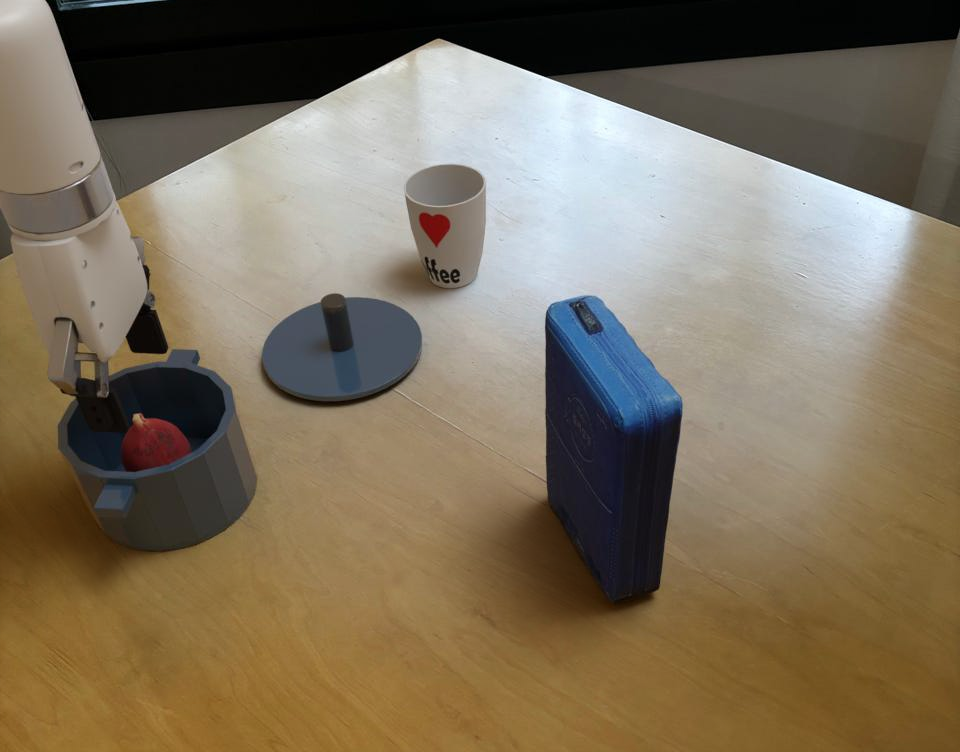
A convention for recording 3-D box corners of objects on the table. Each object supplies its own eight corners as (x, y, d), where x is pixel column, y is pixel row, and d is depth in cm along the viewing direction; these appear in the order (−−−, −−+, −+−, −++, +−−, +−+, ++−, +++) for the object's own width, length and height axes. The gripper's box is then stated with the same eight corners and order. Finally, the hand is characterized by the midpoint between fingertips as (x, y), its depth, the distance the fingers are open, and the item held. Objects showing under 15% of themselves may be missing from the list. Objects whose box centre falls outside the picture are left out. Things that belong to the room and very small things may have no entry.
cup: (400, 275, 114) (387, 186, 106) (457, 243, 117) (449, 154, 109) (449, 306, 110) (439, 216, 102) (507, 272, 113) (502, 182, 105)
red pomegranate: (217, 475, 95) (185, 405, 89) (173, 517, 93) (138, 448, 86) (171, 456, 98) (137, 386, 92) (127, 497, 95) (89, 428, 89)
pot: (57, 570, 91) (16, 497, 84) (135, 414, 103) (105, 340, 96) (222, 579, 89) (194, 506, 82) (282, 419, 101) (261, 344, 94)
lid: (246, 403, 103) (229, 350, 98) (286, 305, 112) (273, 251, 107) (408, 409, 100) (399, 354, 96) (434, 308, 110) (428, 254, 105)
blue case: (536, 499, 92) (528, 297, 76) (593, 481, 93) (597, 277, 77) (608, 618, 83) (617, 418, 68) (670, 596, 84) (692, 394, 69)
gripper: (50, 126, 79) (122, 322, 93) (-51, 262, 69) (48, 460, 82) (147, 128, 78) (206, 325, 92) (59, 266, 68) (141, 465, 81)
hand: (131, 389), depth 87 cm, fingers open, 9 cm apart
